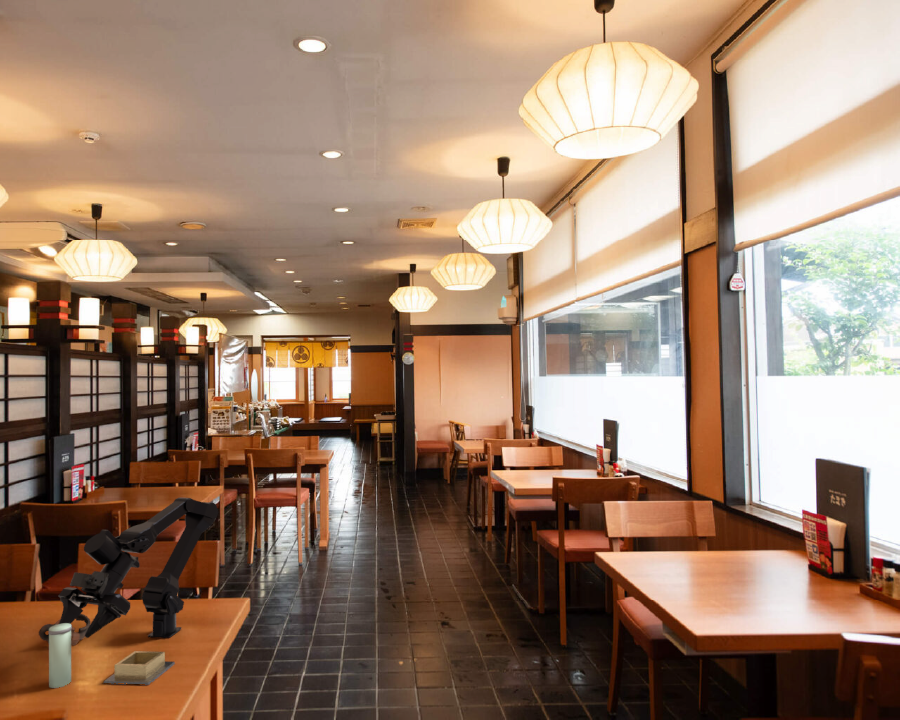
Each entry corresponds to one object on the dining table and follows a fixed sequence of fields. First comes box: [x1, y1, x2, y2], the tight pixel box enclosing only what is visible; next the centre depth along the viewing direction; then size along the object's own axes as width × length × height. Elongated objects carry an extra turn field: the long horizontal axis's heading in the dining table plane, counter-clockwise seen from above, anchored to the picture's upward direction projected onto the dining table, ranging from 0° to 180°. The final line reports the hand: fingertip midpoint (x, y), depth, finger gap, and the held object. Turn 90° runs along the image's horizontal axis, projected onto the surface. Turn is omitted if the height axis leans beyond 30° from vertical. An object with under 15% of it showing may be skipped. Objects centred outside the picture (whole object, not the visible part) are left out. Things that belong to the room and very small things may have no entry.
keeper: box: [103, 650, 176, 686], centre depth 151 cm, size 11×11×4 cm
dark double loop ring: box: [38, 613, 92, 646], centre depth 171 cm, size 12×10×8 cm
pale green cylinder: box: [48, 623, 73, 689], centre depth 147 cm, size 5×5×13 cm
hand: (72, 634), depth 150 cm, fingers open, 9 cm apart
